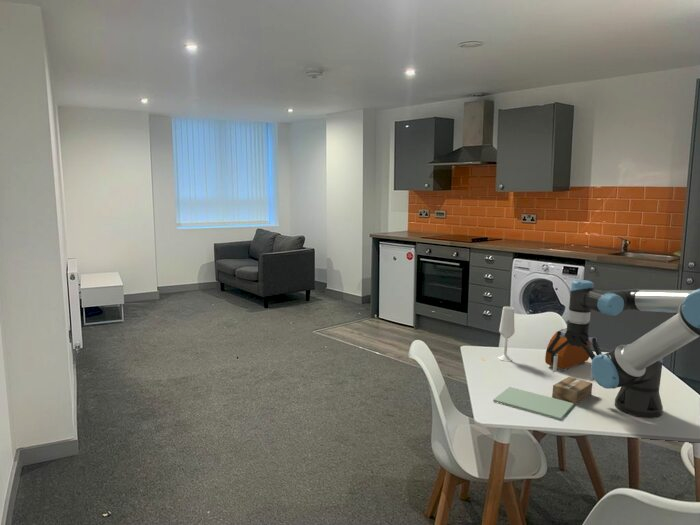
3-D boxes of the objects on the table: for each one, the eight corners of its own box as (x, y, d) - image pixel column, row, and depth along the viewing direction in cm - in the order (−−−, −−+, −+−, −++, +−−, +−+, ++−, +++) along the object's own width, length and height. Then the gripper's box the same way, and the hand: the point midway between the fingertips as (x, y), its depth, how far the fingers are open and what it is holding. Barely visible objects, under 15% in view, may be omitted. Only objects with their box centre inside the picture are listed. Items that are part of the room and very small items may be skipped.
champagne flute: (510, 362, 238) (514, 310, 235) (495, 359, 242) (499, 308, 238) (514, 358, 244) (517, 307, 241) (499, 355, 247) (502, 305, 244)
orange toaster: (571, 357, 248) (574, 322, 245) (590, 362, 241) (593, 326, 238) (543, 367, 233) (546, 330, 231) (562, 373, 226) (566, 335, 224)
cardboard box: (591, 395, 203) (592, 382, 203) (575, 405, 194) (577, 392, 193) (568, 388, 210) (569, 376, 209) (552, 397, 200) (553, 385, 199)
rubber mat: (573, 405, 193) (573, 403, 193) (560, 420, 180) (560, 418, 180) (509, 388, 207) (509, 386, 207) (493, 401, 195) (493, 399, 194)
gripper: (617, 325, 193) (610, 381, 196) (547, 313, 208) (542, 365, 211) (612, 330, 187) (606, 387, 191) (541, 317, 202) (536, 370, 205)
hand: (572, 375), depth 201 cm, fingers open, 13 cm apart
